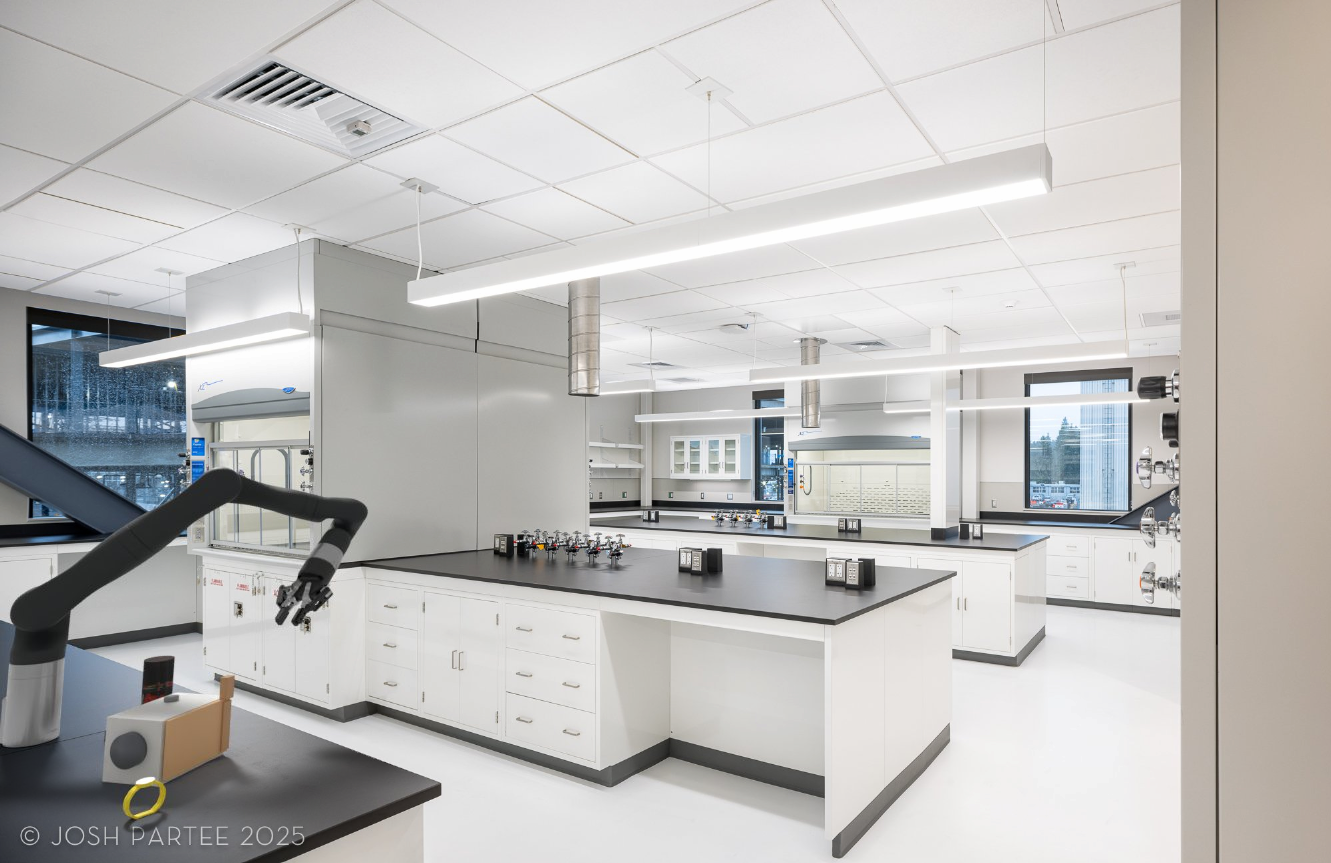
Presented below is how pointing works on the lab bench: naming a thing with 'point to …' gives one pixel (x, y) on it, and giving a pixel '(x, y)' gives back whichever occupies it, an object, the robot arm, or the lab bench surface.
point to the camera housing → (145, 738)
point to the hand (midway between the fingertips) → (286, 623)
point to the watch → (139, 784)
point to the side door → (198, 733)
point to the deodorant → (157, 678)
